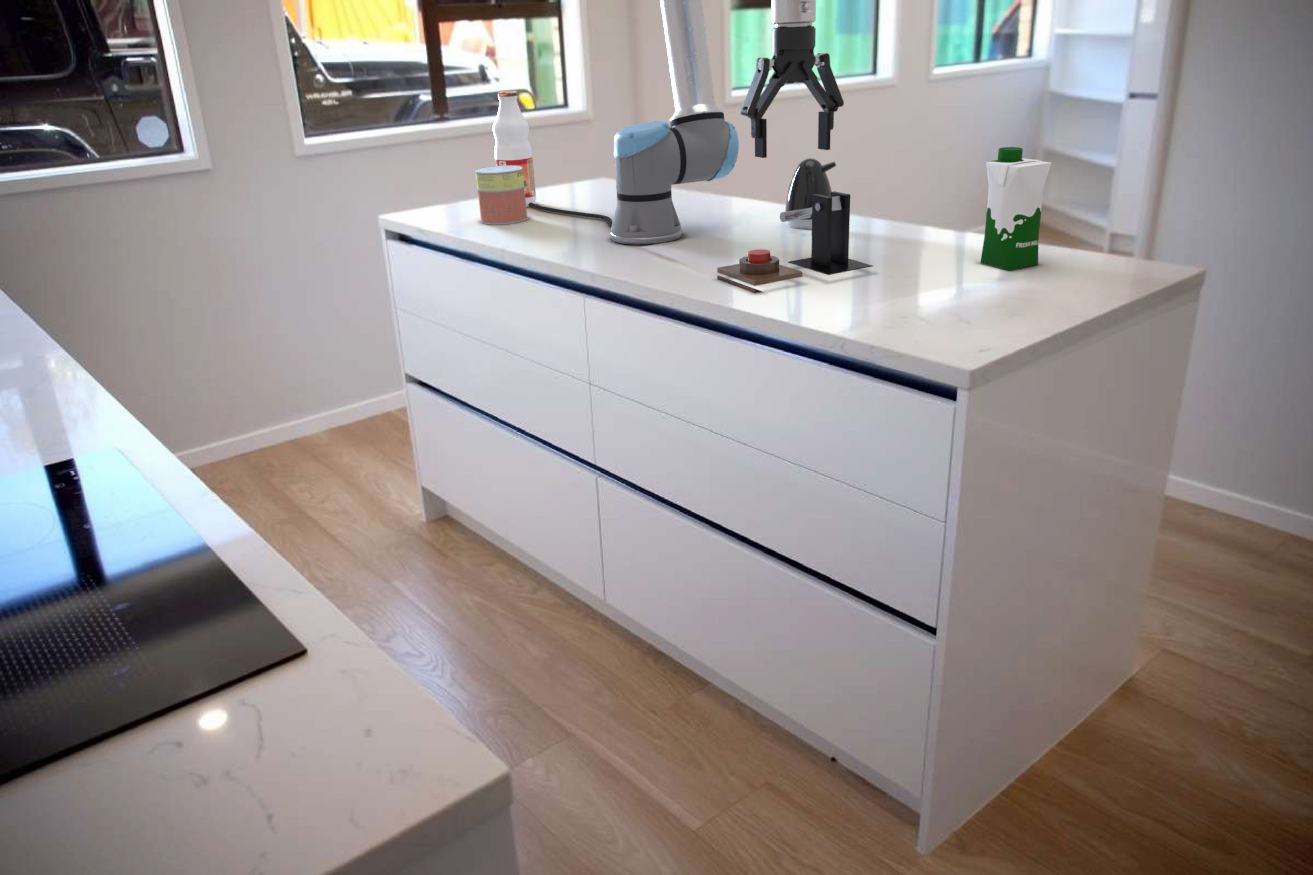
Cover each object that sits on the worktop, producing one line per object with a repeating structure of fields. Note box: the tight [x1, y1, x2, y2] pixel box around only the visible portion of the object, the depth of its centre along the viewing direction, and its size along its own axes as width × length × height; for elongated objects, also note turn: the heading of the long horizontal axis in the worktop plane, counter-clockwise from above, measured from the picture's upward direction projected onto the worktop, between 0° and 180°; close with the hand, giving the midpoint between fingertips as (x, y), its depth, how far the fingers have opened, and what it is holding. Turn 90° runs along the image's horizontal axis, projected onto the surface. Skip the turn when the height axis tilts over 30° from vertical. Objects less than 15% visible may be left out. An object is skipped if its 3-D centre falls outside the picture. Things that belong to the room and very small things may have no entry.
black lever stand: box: [787, 190, 874, 276], centre depth 178 cm, size 12×10×14 cm
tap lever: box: [779, 196, 842, 223], centre depth 181 cm, size 13×6×2 cm, turn 29°
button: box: [747, 248, 772, 263], centre depth 174 cm, size 4×4×2 cm
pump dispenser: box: [784, 157, 837, 230], centre depth 210 cm, size 10×10×15 cm
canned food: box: [474, 165, 529, 226], centre depth 238 cm, size 11×11×12 cm
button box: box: [716, 255, 803, 294], centre depth 175 cm, size 12×10×4 cm
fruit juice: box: [492, 90, 537, 208], centre depth 252 cm, size 9×9×28 cm
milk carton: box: [979, 146, 1052, 271], centre depth 176 cm, size 9×9×20 cm
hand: (792, 153), depth 179 cm, fingers open, 13 cm apart
